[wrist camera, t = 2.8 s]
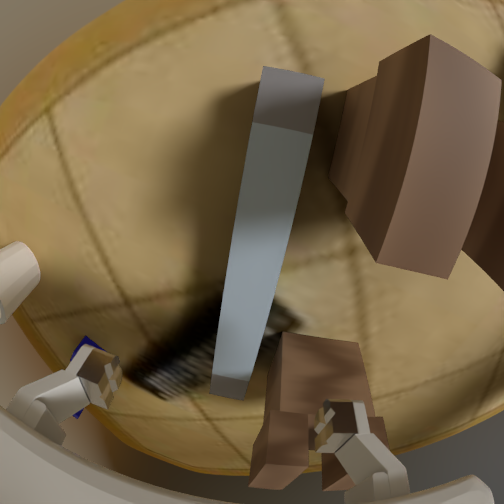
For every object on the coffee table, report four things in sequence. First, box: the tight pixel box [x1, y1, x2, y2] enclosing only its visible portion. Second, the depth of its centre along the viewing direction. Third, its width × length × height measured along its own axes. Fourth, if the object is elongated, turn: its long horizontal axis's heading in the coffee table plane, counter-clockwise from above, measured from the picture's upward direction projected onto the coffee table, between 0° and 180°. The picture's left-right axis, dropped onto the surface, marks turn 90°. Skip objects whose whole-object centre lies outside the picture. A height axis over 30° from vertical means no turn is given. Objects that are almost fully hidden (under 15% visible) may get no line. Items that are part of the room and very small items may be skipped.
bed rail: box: [209, 66, 324, 400], centre depth 18 cm, size 3×24×4 cm, turn 170°
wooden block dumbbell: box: [248, 34, 504, 491], centre depth 15 cm, size 8×25×12 cm, turn 170°
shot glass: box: [0, 241, 40, 324], centre depth 20 cm, size 7×7×7 cm
